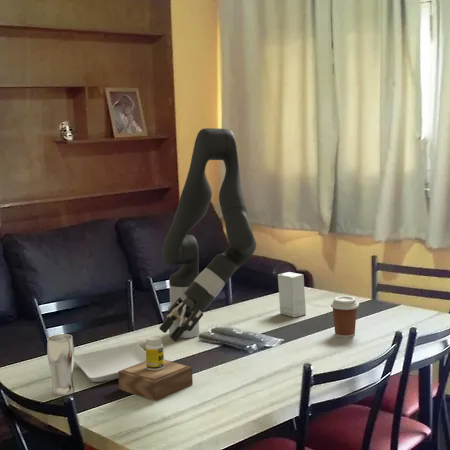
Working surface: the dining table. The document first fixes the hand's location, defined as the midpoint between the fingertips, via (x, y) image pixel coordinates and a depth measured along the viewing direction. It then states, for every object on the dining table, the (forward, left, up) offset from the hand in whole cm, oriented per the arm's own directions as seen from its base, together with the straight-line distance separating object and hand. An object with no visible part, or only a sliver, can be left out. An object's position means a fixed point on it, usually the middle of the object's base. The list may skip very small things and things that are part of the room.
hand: (167, 335), depth 198 cm
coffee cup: (+16, +65, -14) cm, 69 cm away
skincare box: (-12, +75, -14) cm, 78 cm away
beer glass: (-19, -21, -14) cm, 32 cm away
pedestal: (-1, -4, -14) cm, 14 cm away
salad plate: (-21, -1, -14) cm, 26 cm away
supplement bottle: (-1, -3, -9) cm, 9 cm away
